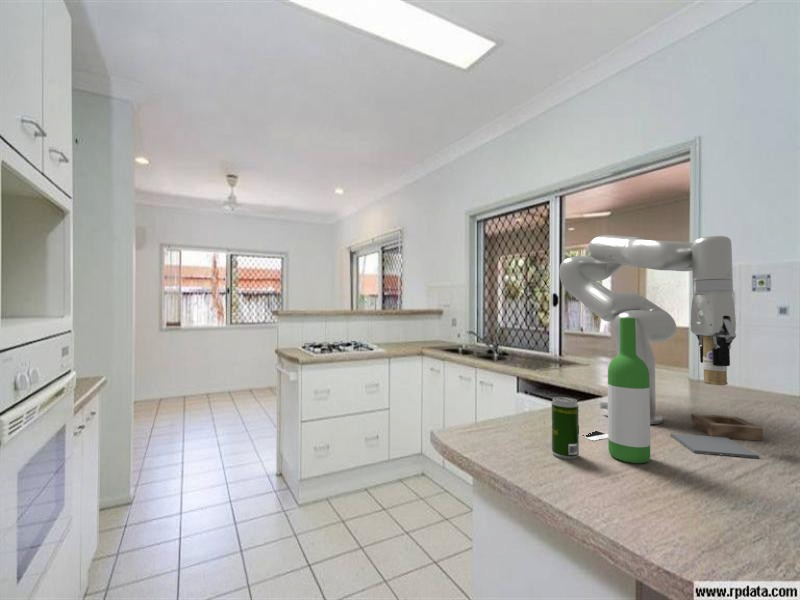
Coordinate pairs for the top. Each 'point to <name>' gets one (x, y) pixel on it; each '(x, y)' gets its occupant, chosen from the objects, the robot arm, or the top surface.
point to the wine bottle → (628, 400)
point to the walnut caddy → (727, 427)
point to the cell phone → (596, 435)
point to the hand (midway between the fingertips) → (714, 363)
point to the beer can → (565, 428)
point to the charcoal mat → (713, 445)
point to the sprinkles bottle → (711, 372)
